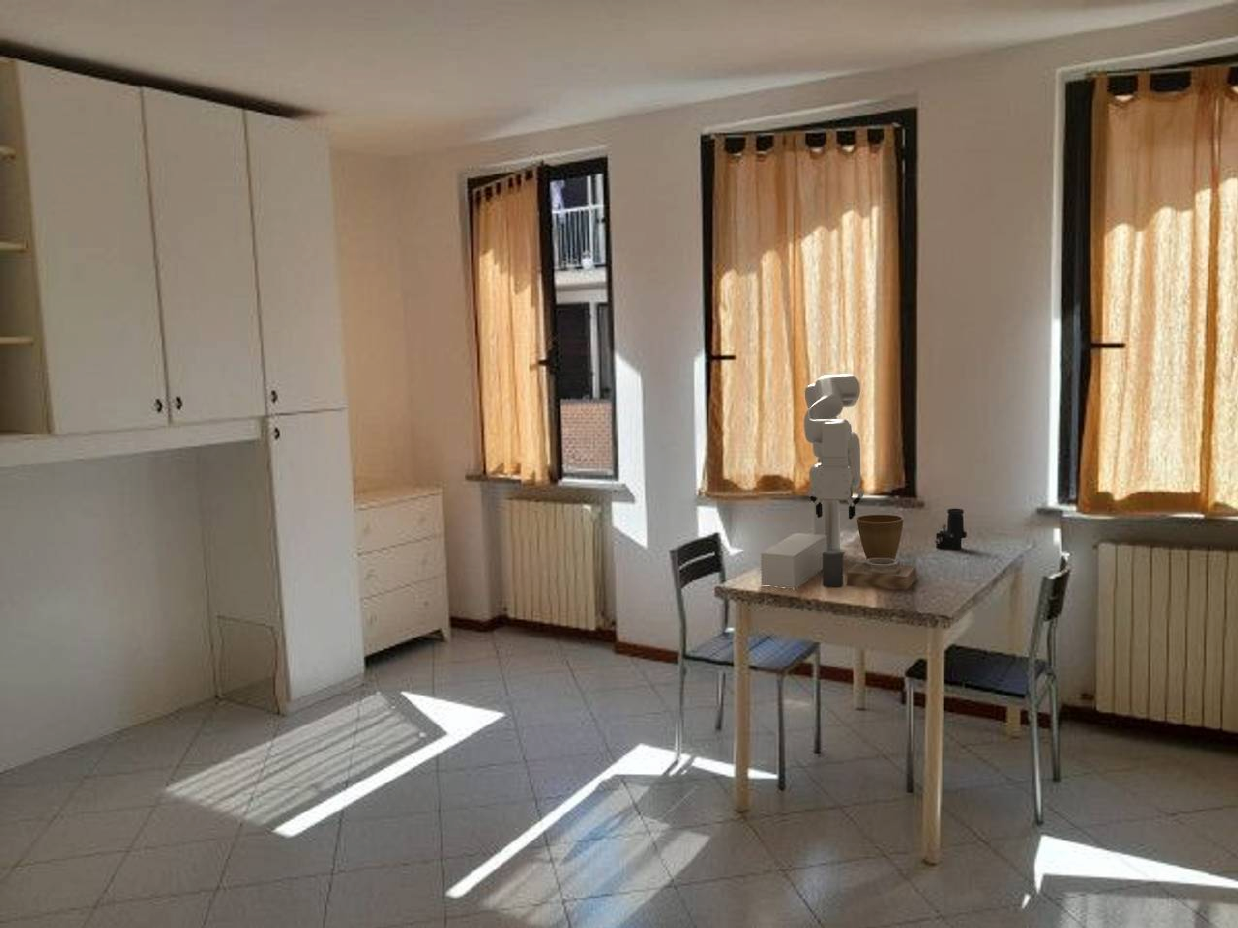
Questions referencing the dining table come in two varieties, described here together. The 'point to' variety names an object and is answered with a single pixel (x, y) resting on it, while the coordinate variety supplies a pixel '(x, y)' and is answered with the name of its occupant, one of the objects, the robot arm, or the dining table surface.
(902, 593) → the dining table surface
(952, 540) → the scope
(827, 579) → the lens
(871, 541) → the plant pot
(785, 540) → the stack of papers
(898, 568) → the wooden block
